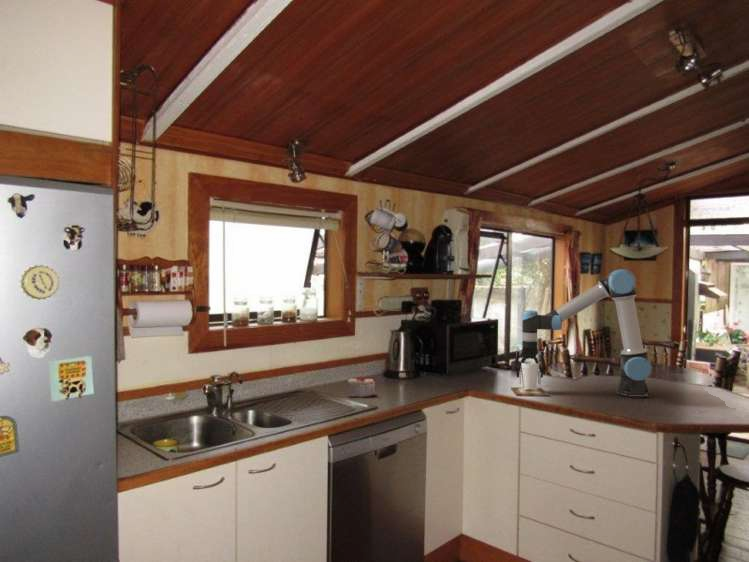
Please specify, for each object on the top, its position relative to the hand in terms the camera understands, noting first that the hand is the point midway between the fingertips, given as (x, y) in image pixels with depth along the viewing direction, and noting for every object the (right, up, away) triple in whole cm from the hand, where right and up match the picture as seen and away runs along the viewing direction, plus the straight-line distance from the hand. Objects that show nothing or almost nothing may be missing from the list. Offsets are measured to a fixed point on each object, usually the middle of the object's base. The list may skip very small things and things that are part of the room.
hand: (529, 383), depth 279 cm
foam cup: (0, -2, 0) cm, 2 cm away
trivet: (0, -5, 0) cm, 5 cm away
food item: (-87, -5, -9) cm, 88 cm away
